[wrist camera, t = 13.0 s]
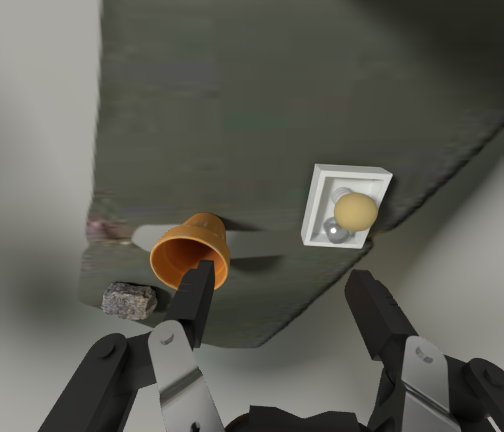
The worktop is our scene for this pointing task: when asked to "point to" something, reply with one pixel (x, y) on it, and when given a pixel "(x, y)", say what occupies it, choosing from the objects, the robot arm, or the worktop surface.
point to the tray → (322, 206)
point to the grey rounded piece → (335, 231)
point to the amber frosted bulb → (353, 209)
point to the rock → (129, 301)
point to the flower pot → (191, 250)
